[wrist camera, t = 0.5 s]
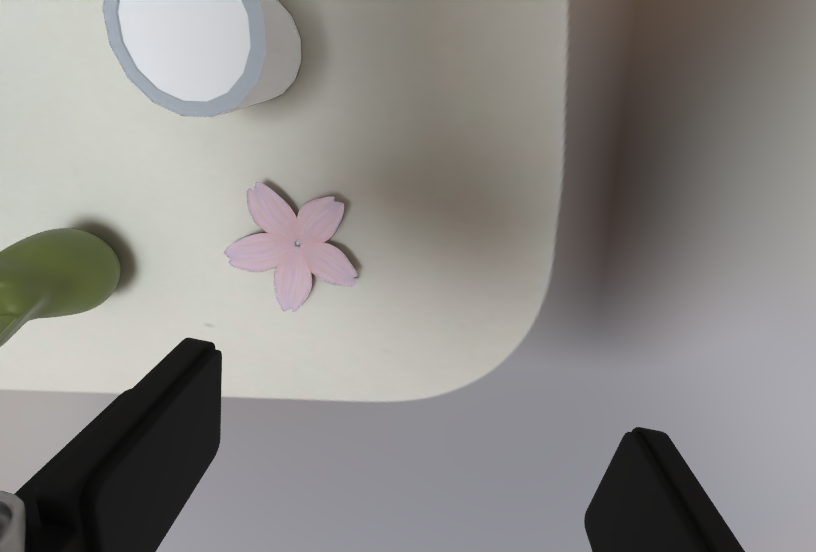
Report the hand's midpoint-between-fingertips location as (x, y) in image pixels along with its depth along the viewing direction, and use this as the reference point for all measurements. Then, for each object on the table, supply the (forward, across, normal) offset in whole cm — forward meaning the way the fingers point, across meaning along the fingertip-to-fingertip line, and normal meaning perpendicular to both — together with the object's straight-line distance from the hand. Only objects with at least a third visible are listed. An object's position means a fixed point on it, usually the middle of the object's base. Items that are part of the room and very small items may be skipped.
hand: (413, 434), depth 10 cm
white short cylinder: (+19, +12, -8) cm, 24 cm away
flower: (+19, +8, +3) cm, 21 cm away
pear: (+19, +22, +7) cm, 30 cm away
